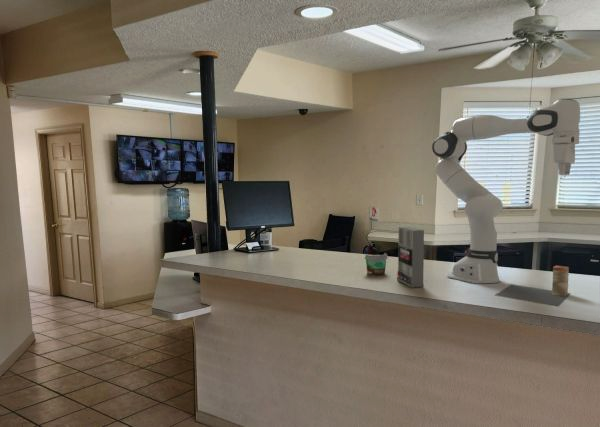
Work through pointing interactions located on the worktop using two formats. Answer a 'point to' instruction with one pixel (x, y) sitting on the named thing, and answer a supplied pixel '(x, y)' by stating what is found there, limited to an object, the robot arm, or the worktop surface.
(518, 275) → the worktop surface
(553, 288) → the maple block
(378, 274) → the food container
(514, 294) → the charcoal mat
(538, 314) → the worktop surface
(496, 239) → the robot arm
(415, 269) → the cassette tape recorder
